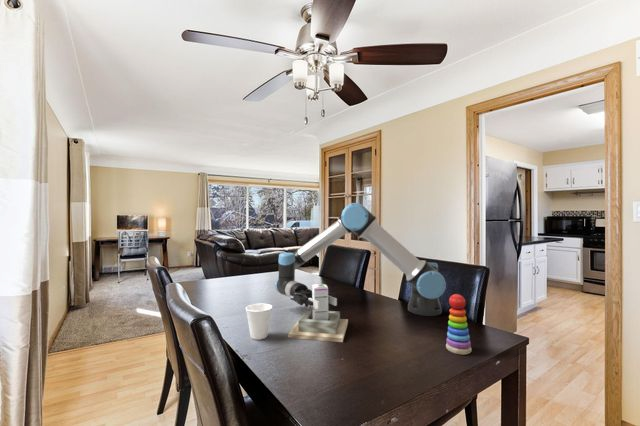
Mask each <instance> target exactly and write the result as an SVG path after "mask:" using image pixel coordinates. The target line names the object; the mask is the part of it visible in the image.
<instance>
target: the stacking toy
mask: <svg viewBox="0 0 640 426" xmlns="http://www.w3.org/2000/svg"><path fill="white" fill-rule="evenodd" d="M448 302H449V305H450V307H451V308H449V315H448V319H449V320H448V322H447V324H448V326H447V333H446V336H447V337H446V344H445V348H446V349H447V350H448V351H449V352H450V353H453V354H456V355H470V353H471V352H472V350H473V349H472V346H471V345H472V343H471V340H470V339H471V336H470V334H469V331H470V330H469V328H468V322H467V320H468V319H467V316H466V313H467V312H466V310H465V309H464V308H465V307H466V299H465V298H464V296H462V295H461V294H459V293H455V294H452V295H450V297H449V300H448Z"/></svg>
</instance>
